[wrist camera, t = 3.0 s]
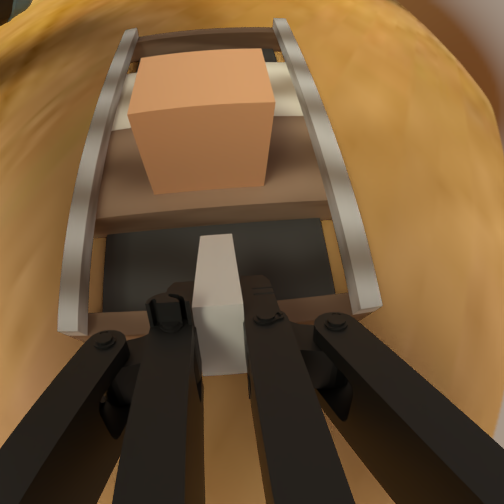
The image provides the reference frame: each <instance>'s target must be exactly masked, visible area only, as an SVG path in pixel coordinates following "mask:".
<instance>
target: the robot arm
mask: <svg viewBox="0 0 504 504" xmlns="http://www.w3.org/2000/svg"><path fill="white" fill-rule="evenodd" d="M31 3H32V0H0V26H1V25H3V24H5V23H7V22H9V21H11V19H12V18H14V17H15V16H17V15H18V14H20V13H22V12H23V11H25V10H26V9H27V8H28V7H29V6H30V5H31ZM145 306H146V311H147V315H148V320H149V324H150V330H149V333H148V334H147V335H145V336H142V337H139V338H135V339H131V340H127V341H126V337H125V335H124V334H123V333H122V332H120V331H117V330H104V331H100V332H98V333H96V334H94V335H92V336H91V337H90V338H89V339H88V340H87V341H86V342H85V343H84V344H83V345H82V347H81V348H80V349H79V350H78V351H77V352H76V354H75V355H74V356H73V357H72V358H71V360H70V361H69V362H68V363H67V364H66V365H65V367H64V368H63V369H62V370H61V372H60V373H59V374H58V375H57V376H56V378H55V379H54V380H53V381H52V382H51V384H50V385H49V386H48V387H47V389H46V390H45V391H44V392H43V394H42V395H41V396H40V397H39V399H38V400H37V401H36V402H35V404H34V405H33V406H32V407H31V409H30V410H29V411H28V413H27V414H26V415H25V416H24V418H23V419H22V420H21V422H20V423H19V424H18V426H17V427H16V428H15V430H14V431H13V432H12V434H11V435H10V436H9V438H8V439H7V440H6V442H5V443H4V444H3V446H2V447H1V448H0V504H97V502H98V500H99V498H100V496H101V493H102V491H103V489H104V487H105V485H106V483H107V481H108V479H109V477H110V475H111V473H112V471H113V469H114V467H115V465H116V463H117V461H118V459H119V457H120V460H119V466H118V471H117V477H116V483H115V489H114V495H113V502H112V504H205V477H204V408H203V398H204V387H203V381H202V374H203V376H214V375H228V374H240V373H247V375H248V390H249V399H250V400H251V407H252V414H253V421H254V428H255V434H256V441H257V448H258V454H259V461H260V467H261V473H262V480H263V486H264V492H265V498H266V504H355V501H354V499H353V496H352V493H351V490H350V487H349V484H348V482H347V479H346V476H345V473H344V470H343V467H342V465H341V462H340V459H339V456H338V453H337V451H336V448H335V445H334V442H333V439H332V437H331V434H330V431H329V428H328V426H327V423H326V420H325V417H324V414H323V412H322V409H323V410H324V412H325V413H326V415H327V416H328V417H329V419H330V420H331V421H332V422H333V424H334V425H335V426H336V428H337V429H338V430H339V432H340V433H341V434H342V436H343V437H344V438H345V440H346V441H347V442H348V444H349V445H350V446H351V447H352V449H353V450H354V451H355V453H356V454H357V455H358V457H359V458H360V459H361V460H362V462H363V463H364V464H365V466H366V467H367V468H368V469H369V471H370V472H371V473H372V475H373V476H374V477H375V478H376V480H377V481H378V482H379V483H380V485H381V486H382V487H383V488H384V490H385V491H386V492H387V493H388V495H389V496H390V497H391V498H392V500H393V501H394V502H395V503H396V504H504V449H503V448H502V447H501V446H500V445H499V444H498V443H497V442H495V441H494V440H493V439H492V438H491V437H490V436H489V435H488V434H487V433H485V432H484V431H483V430H482V429H481V428H480V427H479V426H478V425H477V424H475V423H474V422H473V421H472V420H471V419H470V418H469V417H468V416H466V415H465V414H464V413H463V412H462V411H461V410H460V409H459V408H457V407H456V406H455V405H454V404H453V403H452V402H451V401H449V400H448V399H447V398H446V397H445V396H444V395H443V394H441V393H440V392H439V391H438V390H437V389H436V388H435V387H433V386H432V385H431V384H430V383H429V382H428V381H427V380H425V379H424V378H423V377H422V376H421V375H420V374H419V373H417V372H416V371H415V370H414V369H413V368H412V367H411V366H409V365H408V364H407V363H406V362H405V361H404V360H402V359H401V358H400V357H399V356H398V355H397V354H396V353H394V352H393V351H392V350H391V349H390V348H389V347H387V346H386V345H385V344H384V343H383V342H382V341H380V340H379V339H378V338H377V337H376V336H375V335H373V334H372V333H371V332H370V331H369V330H368V329H366V328H365V327H364V326H363V325H362V324H361V323H359V322H358V321H357V320H356V319H355V318H353V317H352V316H350V315H348V314H344V313H341V312H329V313H324V314H322V315H319V316H318V317H317V318H316V319H315V321H314V325H305V324H298V323H294V322H291V321H289V319H288V316H287V315H286V314H285V312H283V311H281V310H280V308H279V306H278V303H277V300H276V297H275V294H274V291H273V289H272V286H271V283H270V280H269V279H267V278H266V277H265V276H263V275H253V276H241V277H239V275H238V269H237V262H236V256H235V250H234V244H233V237H232V234H220V235H206V236H200V242H199V250H198V258H197V266H196V274H195V281H186V282H174V283H173V284H172V285H171V286H170V287H169V288H167V292H165V293H160V294H157V295H154V296H153V297H151V298H149V299H148V300H147V302H146V303H145ZM321 408H322V409H321Z"/></svg>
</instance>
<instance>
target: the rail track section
mask: <svg viewBox="0 0 504 504" xmlns="http://www.w3.org/2000/svg"><path fill="white" fill-rule="evenodd" d="M256 48H261V49H262V53H263V57H264V60H265V64H266V68H267V71H268V75H269V79H270V83H271V87H272V90H273V94H274V98H275V110H274V117H273V124H272V132H271V139H270V146H269V153H268V161H267V168H266V175H265V182H264V186H256V187H240V188H225V189H212V190H199V191H188V192H177V193H166V194H157V195H154V193H153V190H152V187H151V184H150V181H149V179H148V176H147V173H146V170H145V167H144V164H143V161H142V159H141V156H140V153H139V150H138V147H137V144H136V141H135V138H134V135H133V132H132V128H131V125H130V122H129V119H128V116H127V113H128V108H129V104H130V99H131V95H132V91H133V87H134V83H135V79H136V75H137V71H138V68H139V64H140V60H141V58H144V57H151V56H158V55H165V54H174V53H183V52H193V51H205V50H221V49H256ZM274 51H282V54H283V57H284V59H285V62H277V60H276V57H275V54H274ZM136 61H139V64H138V67H137V71H136V73H131V74H127V71H128V68H129V64H130V62H136ZM320 220H333V224H334V228H335V233H336V237H337V241H338V246H339V250H340V254H341V259H342V264H343V268H344V273H345V278H346V283H347V287H348V292H349V293H341V294H335V289H334V284H333V279H332V274H331V269H330V264H329V259H328V254H327V249H326V244H325V240H324V235H323V231H322V226H321V222H320ZM220 234H232V237H233V244H234V250H235V256H236V262H237V269H238V275H239V277H241V276H253V275H263V276H265V277H266V278H267V279H269V280H270V283H271V286H272V289H273V291H274V294H275V297H276V300H277V303H278V306H279V308H280V310H281V311H283V312H285V314H286V315H287V316H288V319H289V321H291V322H294V323H298V324H305V325H314V321H315V319H316V318H317V317H318V316H319V315H322V314H324V313H329V312H341V313H344V314H348V315H350V316H352V317H353V318H355V319H356V320H357V321H359V320H361V319H362V318H364V317H366V316H367V315H369V314H370V313H372V312H374V311H375V310H377V309H378V308H380V307H381V306H383V305H382V300H381V295H380V291H379V286H378V282H377V277H376V273H375V269H374V265H373V261H372V257H371V253H370V249H369V245H368V241H367V237H366V234H365V230H364V226H363V223H362V219H361V216H360V212H359V209H358V205H357V202H356V199H355V195H354V192H353V189H352V186H351V182H350V179H349V176H348V173H347V170H346V167H345V164H344V161H343V158H342V155H341V152H340V149H339V146H338V143H337V141H336V138H335V135H334V132H333V129H332V127H331V124H330V121H329V119H328V116H327V113H326V111H325V108H324V106H323V103H322V100H321V98H320V95H319V93H318V90H317V88H316V86H315V83H314V81H313V78H312V76H311V74H310V71H309V69H308V66H307V64H306V62H305V60H304V57H303V55H302V53H301V51H300V48H299V46H298V44H297V42H296V40H295V38H294V35H293V33H292V31H291V29H290V27H289V25H288V23H287V21H286V19H283V18H274V19H273V28H269V27H241V28H215V29H200V30H189V31H179V32H170V33H163V34H155V35H149V36H143V37H139V36H138V31H137V28H133V29H128V30H125V32H124V34H123V37H122V39H121V41H120V44H119V46H118V48H117V51H116V53H115V56H114V58H113V61H112V63H111V66H110V69H109V71H108V74H107V76H106V79H105V82H104V85H103V88H102V90H101V93H100V96H99V99H98V102H97V105H96V108H95V112H94V115H93V118H92V121H91V125H90V128H89V132H88V135H87V139H86V142H85V146H84V150H83V154H82V158H81V162H80V166H79V170H78V174H77V179H76V183H75V188H74V193H73V198H72V203H71V208H70V214H69V220H68V226H67V232H66V239H65V246H64V254H63V262H62V271H61V281H60V293H59V308H58V332H61V333H63V334H65V335H68V336H70V337H73V338H75V339H78V340H80V341H83V342H86V341H87V340H88V339H89V338H90V337H91V336H92V335H94V334H96V333H98V332H100V331H104V330H117V331H120V332H122V333H123V334H124V335H125V337H126V341H127V340H131V339H135V338H139V337H142V336H145V335H147V334H148V333H149V330H150V324H149V320H148V315H147V311H146V306H145V303H146V302H147V300H148V299H149V298H151V297H153V296H154V295H157V294H160V293H165V292H167V288H169V287H170V286H171V285H172V284H173V283H174V282H186V281H195V274H196V266H197V258H198V250H199V242H200V236H206V235H220ZM102 237H107V240H106V252H105V266H104V283H103V313H88V299H89V281H90V267H91V255H92V245H93V238H102Z"/></svg>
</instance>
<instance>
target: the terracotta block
mask: <svg viewBox="0 0 504 504" xmlns="http://www.w3.org/2000/svg"><path fill="white" fill-rule="evenodd" d="M274 110H275V98H274V94H273V90H272V87H271V83H270V79H269V75H268V71H267V68H266V64H265V60H264V57H263V53H262V49H261V48H256V49H221V50H205V51H193V52H183V53H174V54H165V55H158V56H151V57H144V58H141V60H140V64H139V68H138V71H137V75H136V79H135V83H134V87H133V91H132V95H131V99H130V104H129V108H128V113H127V116H128V119H129V122H130V125H131V128H132V132H133V135H134V138H135V141H136V144H137V147H138V150H139V153H140V156H141V159H142V161H143V164H144V167H145V170H146V173H147V176H148V179H149V181H150V184H151V187H152V190H153V193H154V195H157V194H166V193H177V192H188V191H199V190H212V189H225V188H240V187H256V186H264V182H265V175H266V168H267V161H268V153H269V146H270V139H271V132H272V124H273V117H274Z"/></svg>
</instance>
